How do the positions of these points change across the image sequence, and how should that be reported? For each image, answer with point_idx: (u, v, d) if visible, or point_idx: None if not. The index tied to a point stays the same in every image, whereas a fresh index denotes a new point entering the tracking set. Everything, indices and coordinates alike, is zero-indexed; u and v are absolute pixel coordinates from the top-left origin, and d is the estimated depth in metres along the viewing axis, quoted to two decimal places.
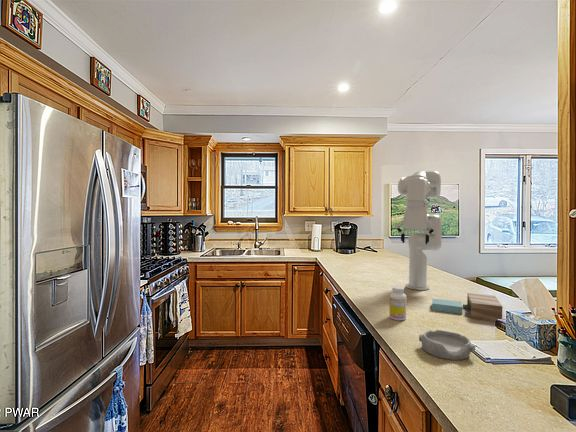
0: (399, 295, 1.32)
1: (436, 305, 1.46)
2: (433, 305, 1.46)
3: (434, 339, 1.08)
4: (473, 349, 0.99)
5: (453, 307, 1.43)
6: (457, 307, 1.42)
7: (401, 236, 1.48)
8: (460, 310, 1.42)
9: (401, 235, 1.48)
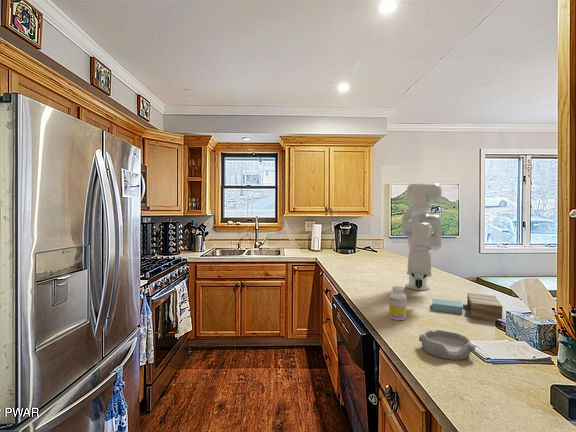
0: (399, 295, 1.32)
1: (436, 305, 1.46)
2: (433, 305, 1.46)
3: (434, 339, 1.08)
4: (473, 349, 0.99)
5: (453, 307, 1.43)
6: (457, 307, 1.42)
7: (415, 281, 1.52)
8: (460, 310, 1.42)
9: (415, 280, 1.52)
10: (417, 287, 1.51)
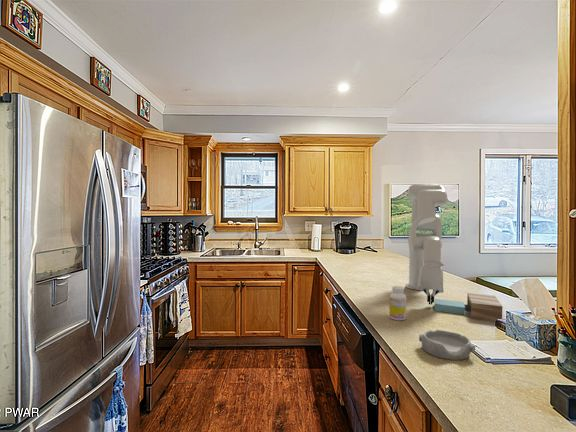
0: (399, 295, 1.32)
1: (438, 305, 1.45)
2: (435, 305, 1.46)
3: (434, 339, 1.08)
4: (473, 349, 0.99)
5: (456, 307, 1.42)
6: (460, 307, 1.42)
7: (427, 297, 1.51)
8: (463, 310, 1.41)
9: (427, 296, 1.50)
10: (429, 303, 1.50)
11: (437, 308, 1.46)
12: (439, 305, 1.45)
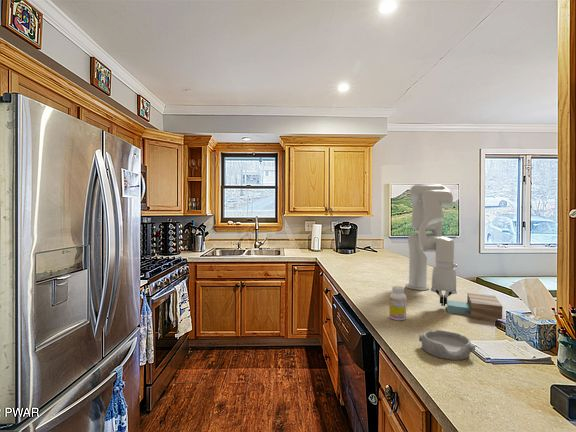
0: (399, 295, 1.32)
1: (452, 307, 1.43)
2: (448, 307, 1.44)
3: (434, 339, 1.08)
4: (473, 349, 0.99)
5: (469, 309, 1.40)
6: None
7: (440, 299, 1.48)
8: None
9: (440, 298, 1.48)
10: (442, 305, 1.47)
11: (450, 310, 1.43)
12: (452, 307, 1.43)
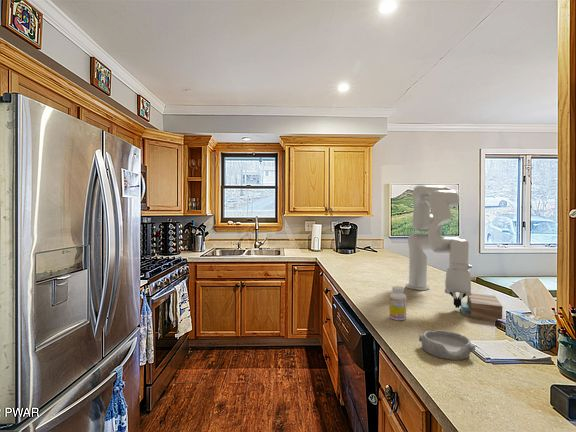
0: (399, 295, 1.32)
1: (466, 309, 1.41)
2: (463, 309, 1.41)
3: (434, 339, 1.08)
4: (473, 349, 0.99)
5: None
6: None
7: (454, 300, 1.46)
8: None
9: (454, 299, 1.46)
10: (456, 306, 1.45)
11: None
12: (467, 309, 1.41)
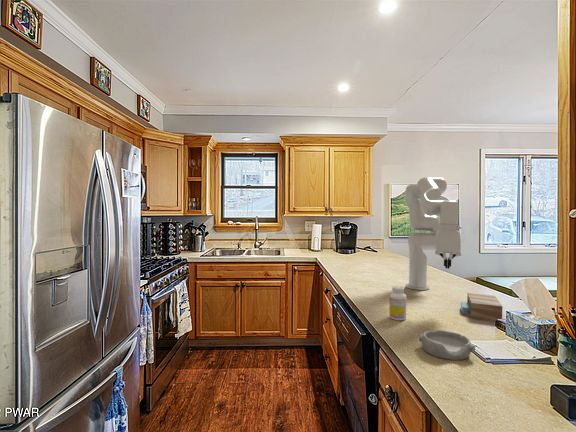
0: (399, 295, 1.32)
1: (466, 309, 1.41)
2: (463, 309, 1.41)
3: (434, 339, 1.08)
4: (473, 349, 0.99)
5: None
6: None
7: (444, 261, 1.48)
8: None
9: (444, 260, 1.48)
10: (446, 267, 1.47)
11: None
12: (467, 309, 1.41)
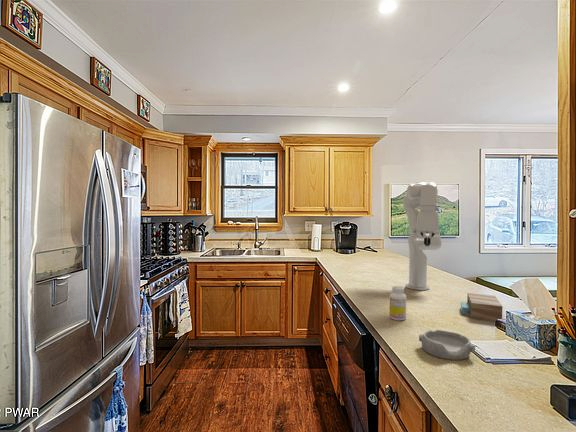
0: (399, 295, 1.32)
1: (466, 309, 1.41)
2: (463, 309, 1.41)
3: (434, 339, 1.08)
4: (473, 349, 0.99)
5: None
6: None
7: (424, 240, 1.62)
8: None
9: (424, 239, 1.62)
10: (426, 245, 1.61)
11: None
12: (467, 309, 1.41)
